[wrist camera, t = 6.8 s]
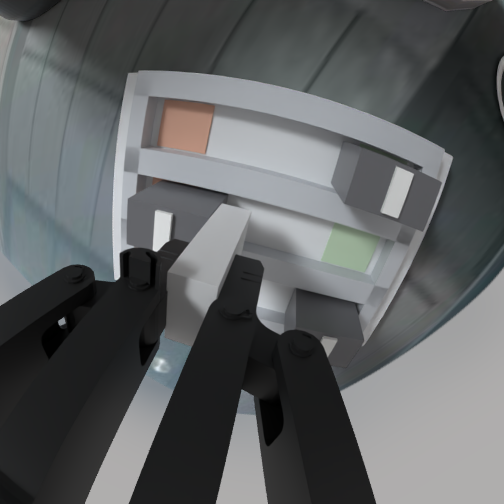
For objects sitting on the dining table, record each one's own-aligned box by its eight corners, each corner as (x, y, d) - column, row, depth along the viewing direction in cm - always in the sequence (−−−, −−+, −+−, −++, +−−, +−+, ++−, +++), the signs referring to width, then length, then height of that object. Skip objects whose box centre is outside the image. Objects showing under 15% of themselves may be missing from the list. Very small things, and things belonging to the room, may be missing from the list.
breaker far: (285, 312, 18) (281, 358, 14) (296, 283, 17) (295, 329, 13) (339, 324, 18) (346, 370, 14) (353, 298, 17) (365, 343, 13)
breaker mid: (159, 216, 16) (124, 245, 12) (163, 179, 15) (125, 199, 11) (220, 232, 16) (199, 267, 12) (228, 193, 15) (207, 219, 11)
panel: (123, 269, 21) (106, 287, 18) (140, 75, 14) (117, 71, 11) (360, 333, 20) (366, 357, 18) (441, 153, 13) (463, 160, 11)
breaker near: (330, 182, 14) (344, 205, 10) (343, 140, 13) (363, 147, 9) (394, 204, 14) (424, 233, 10) (408, 166, 13) (444, 183, 9)
